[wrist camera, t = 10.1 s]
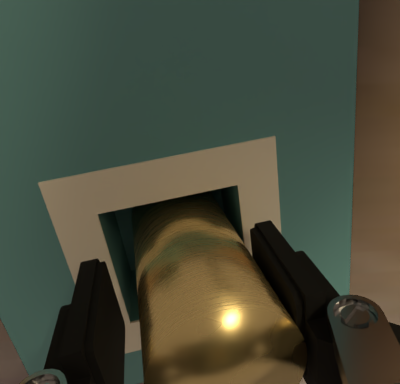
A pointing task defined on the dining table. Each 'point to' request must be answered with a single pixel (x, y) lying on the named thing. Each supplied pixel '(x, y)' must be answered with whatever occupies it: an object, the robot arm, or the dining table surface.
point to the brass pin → (207, 301)
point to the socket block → (166, 138)
